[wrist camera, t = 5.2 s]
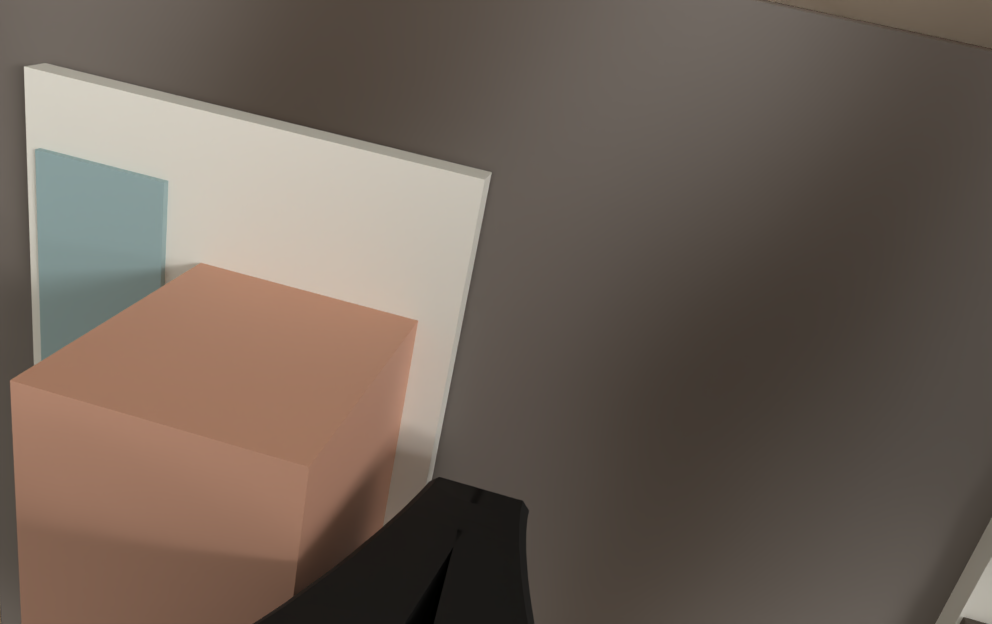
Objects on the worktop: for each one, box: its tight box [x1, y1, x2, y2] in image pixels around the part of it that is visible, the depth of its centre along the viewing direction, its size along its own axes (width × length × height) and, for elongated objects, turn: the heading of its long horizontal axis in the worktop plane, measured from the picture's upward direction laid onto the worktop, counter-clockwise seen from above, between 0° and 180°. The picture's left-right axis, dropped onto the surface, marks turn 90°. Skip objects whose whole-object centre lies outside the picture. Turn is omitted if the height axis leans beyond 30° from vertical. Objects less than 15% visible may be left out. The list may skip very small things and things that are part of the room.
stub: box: [10, 63, 492, 624], centre depth 11 cm, size 6×9×4 cm, turn 169°
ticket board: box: [0, 0, 992, 624], centre depth 12 cm, size 22×14×2 cm, turn 79°
